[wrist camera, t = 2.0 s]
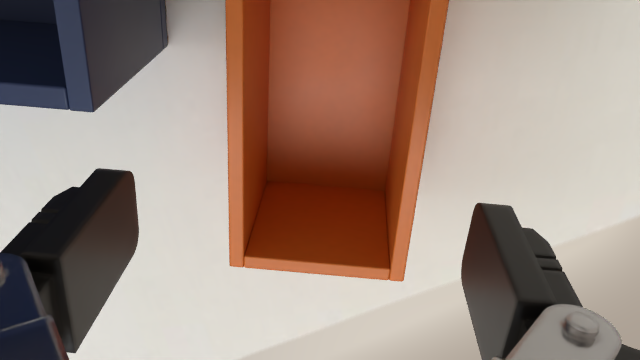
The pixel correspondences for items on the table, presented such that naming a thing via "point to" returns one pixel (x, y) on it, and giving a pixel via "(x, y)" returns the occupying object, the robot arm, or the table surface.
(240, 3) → the small bin
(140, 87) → the table surface
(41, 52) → the tote
